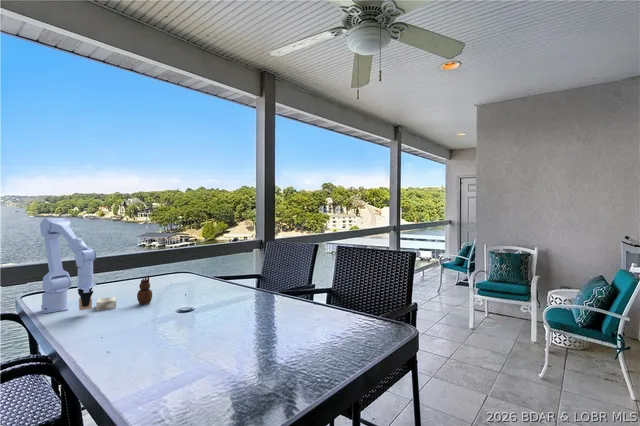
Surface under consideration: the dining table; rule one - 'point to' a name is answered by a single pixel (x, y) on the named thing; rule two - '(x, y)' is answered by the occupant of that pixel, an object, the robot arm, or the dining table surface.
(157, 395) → the dining table surface
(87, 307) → the terracotta cube
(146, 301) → the wooden figurine
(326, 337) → the dining table surface
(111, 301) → the birch block
